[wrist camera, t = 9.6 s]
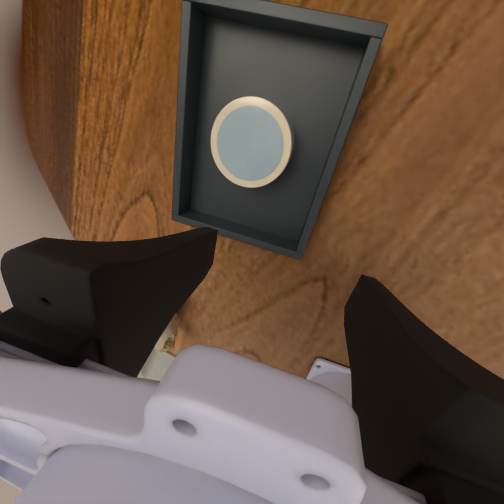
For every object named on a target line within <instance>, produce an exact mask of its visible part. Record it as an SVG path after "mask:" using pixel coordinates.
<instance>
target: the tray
mask: <svg viewBox="0 0 504 504" xmlns="http://www.w3.org/2000/svg"><path fill="white" fill-rule="evenodd" d="M387 26H388V24H387V23H383V22H377V21H372V20H367V19H361V18H356V17H351V16H345V15H340V14H335V13H329V12H324V11H319V10H313V9H308V8H303V7H297V6H292V5H287V4H281V3H276V2H271V1H265V0H182V12H181V33H180V53H179V74H178V95H177V116H176V137H175V158H174V179H173V200H172V220H173V221H177V222H180V223H183V224H186V225H189V226H193V227H196V228H201V227H209V228H213V229H216V230H218V233H217V234H218V235H222V236H225V237H228V238H231V239H235V240H238V241H241V242H244V243H247V244H251V245H254V246H257V247H260V248H264V249H267V250H270V251H273V252H276V253H280V254H283V255H286V256H289V257H293V258H296V259H299V260H301V259H302V256H303V253H304V251H305V248H306V245H307V242H308V240H309V237H310V234H311V232H312V229H313V226H314V224H315V221H316V218H317V215H318V213H319V210H320V207H321V205H322V202H323V199H324V196H325V194H326V191H327V188H328V186H329V183H330V180H331V178H332V175H333V172H334V169H335V167H336V164H337V161H338V159H339V156H340V153H341V150H342V148H343V145H344V142H345V140H346V137H347V134H348V132H349V129H350V126H351V123H352V121H353V118H354V115H355V113H356V110H357V107H358V104H359V102H360V99H361V96H362V94H363V91H364V88H365V86H366V83H367V80H368V77H369V75H370V72H371V69H372V67H373V64H374V61H375V58H376V56H377V53H378V50H379V48H380V45H381V42H382V39H383V37H384V34H385V31H386V29H387ZM245 96H256V97H260V98H264V99H266V100H268V101H270V102H272V103H273V104H275V105H277V106H278V107H280V108H281V109H282V110H283V111H284V112H285V113H286V114H287V116H288V117H289V119H290V121H291V123H292V125H293V129H294V133H295V148H294V153H293V156H292V158H291V161H290V163H289V164H288V166H287V167H286V168H285V169H284V171H283V172H282V173H281V174H280V175H279V176H278V177H277V178H276V179H275V180H274V181H272V182H271V183H269V184H267V185H264V186H261V187H257V188H247V187H242V186H239V185H237V184H235V183H233V182H231V181H230V180H228V179H227V178H226V177H225V176H224V175H223V174H222V173H221V171H220V170H219V169H218V167H217V165H216V163H215V161H214V158H213V155H212V151H211V132H212V128H213V124H214V122H215V120H216V118H217V116H218V114H219V113H220V111H221V110H222V109H223V108H224V107H225V106H226V105H227V104H229V103H230V102H231V101H233V100H235V99H238V98H241V97H245Z"/></svg>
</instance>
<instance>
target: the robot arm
mask: <svg viewBox="0 0 504 504" xmlns="http://www.w3.org/2000/svg"><path fill="white" fill-rule="evenodd" d="M217 233H218V230H216V229H213V228H209V227H201V228H197V229H193V230H189V231H185V232H181V233H177V234H172V235H168V236H163V237H158V238H152V239H144V240H135V241H115V242H96V241H76V240H64V239H54V238H45V237H44V238H40V239H37V240H35V241H32V242H30V243H27V244H24V245H22V246H19V247H16V248H14V249H11V250H9V251H8V252H6V253H5V254H4V256H3V257H2V259H1V273H2V276H3V280H4V282H5V285H6V288H7V290H8V293H9V296H10V299H11V301H12V304H13V306H14V307H12V308H10V309H9V310H7V311H5V312H3V313H2V312H1V311H0V478H1V479H3V480H4V481H6V482H8V483H9V484H11V485H13V486H15V487H16V488H18V489H20V490H21V491H22V492H21V493H20V494H19V496H18V497H17V498H16V499H15V501H14V502H13V503H12V504H504V380H503V379H502V378H500V377H498V376H497V375H495V374H493V373H492V372H490V371H489V370H487V369H485V368H484V367H482V366H481V365H479V364H478V363H476V362H475V361H473V360H472V359H470V358H469V357H467V356H466V355H464V354H463V353H461V352H460V351H459V350H457V349H456V348H454V347H453V346H452V345H450V344H449V343H448V342H446V341H445V340H444V339H442V338H441V337H440V336H439V335H437V334H436V333H435V332H433V331H432V330H431V329H430V328H429V327H427V326H426V325H425V324H424V323H423V322H422V321H420V320H419V319H418V318H417V317H416V316H415V315H414V314H413V313H412V312H410V311H409V310H408V309H407V308H406V307H405V306H404V305H403V304H402V303H401V302H400V301H399V300H398V299H397V298H396V297H395V296H394V295H393V294H392V293H391V292H390V291H389V290H388V289H387V288H386V287H385V286H384V285H383V284H381V283H380V282H379V281H378V280H377V279H375V278H372V277H369V276H366V275H361V277H360V279H359V281H358V283H357V285H356V286H355V288H354V290H353V292H352V294H351V296H350V298H349V300H348V301H347V303H346V305H345V309H344V327H345V335H346V342H347V349H348V356H349V363H350V368H347V367H344V366H341V365H339V364H336V363H333V362H330V361H327V360H325V359H322V358H317V359H316V360H315V362H314V363H313V365H312V367H311V369H310V371H309V373H308V375H307V376H306V378H305V379H304V378H302V377H299V376H296V375H293V374H291V373H288V372H285V371H282V370H280V369H277V368H274V367H272V366H269V365H266V364H263V363H261V362H258V361H255V360H253V359H250V358H247V357H244V356H242V355H239V354H236V353H234V352H231V351H228V350H225V349H223V348H219V347H213V346H207V345H201V344H200V345H194V346H191V347H188V348H185V349H182V350H180V351H179V353H178V355H177V356H176V358H175V359H174V361H173V362H172V364H171V366H170V367H169V369H168V370H167V372H166V373H165V375H164V377H163V378H162V380H161V381H156V380H149V379H142V378H137V376H138V374H139V372H140V370H141V369H142V367H143V365H144V363H145V362H146V360H147V358H148V357H149V355H150V353H151V352H152V350H153V348H154V347H155V345H156V343H157V342H158V340H159V338H160V337H161V335H162V334H163V332H164V330H165V329H166V327H167V326H168V324H169V323H170V321H171V320H172V318H173V317H174V315H175V314H176V312H177V311H178V310H179V308H180V307H181V306H182V305H183V304H184V302H185V301H186V300H187V299H188V298H189V296H190V295H191V294H192V293H193V292H194V290H195V289H196V288H197V287H198V285H199V284H200V283H201V282H202V281H203V279H204V278H205V276H206V275H207V273H208V271H209V270H210V268H211V266H212V265H213V259H214V253H215V246H216V240H217Z"/></svg>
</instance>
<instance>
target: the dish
mask: <svg viewBox="0 0 504 504" xmlns="http://www.w3.org/2000/svg"><path fill="white" fill-rule="evenodd" d="M294 148H295V133H294V129H293V125H292V123H291V121H290V119H289V117H288V116H287V114H286V113H285V112H284V111H283V110H282V109H281V108H280V107H278V106H277V105H275V104H273V103H272V102H270V101H268V100H266V99H264V98H260V97H256V96H245V97H241V98H238V99H235V100H233V101H231V102H230V103H229V104H227V105H226V106H225V107H224V108H223V109H222V110H221V111H220V113H219V114H218V116H217V118H216V120H215V122H214V124H213V128H212V132H211V151H212V155H213V158H214V161H215V163H216V165H217V167H218V169H219V170H220V171H221V173H222V174H223V175H224V176H225V177H226V178H227V179H228V180H230V181H231V182H233V183H235V184H237V185H239V186H242V187H247V188H257V187H261V186H264V185H267V184H269V183H271V182H272V181H274V180H275V179H276V178H277V177H278V176H279V175H280V174H281V173H282V172H283V171H284V169H285V168H286V167H287V166H288V164H289V163H290V161H291V158H292V156H293V153H294Z"/></svg>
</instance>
